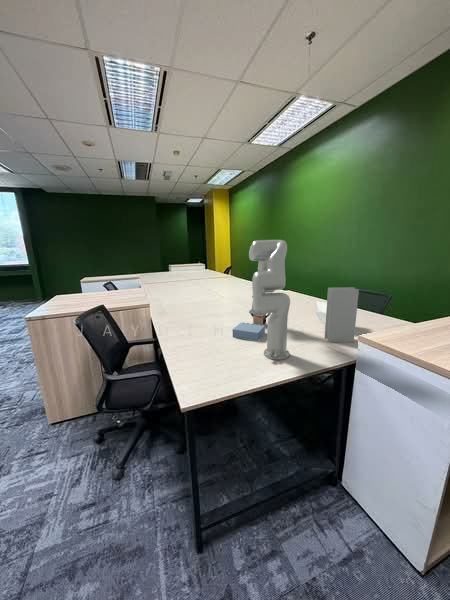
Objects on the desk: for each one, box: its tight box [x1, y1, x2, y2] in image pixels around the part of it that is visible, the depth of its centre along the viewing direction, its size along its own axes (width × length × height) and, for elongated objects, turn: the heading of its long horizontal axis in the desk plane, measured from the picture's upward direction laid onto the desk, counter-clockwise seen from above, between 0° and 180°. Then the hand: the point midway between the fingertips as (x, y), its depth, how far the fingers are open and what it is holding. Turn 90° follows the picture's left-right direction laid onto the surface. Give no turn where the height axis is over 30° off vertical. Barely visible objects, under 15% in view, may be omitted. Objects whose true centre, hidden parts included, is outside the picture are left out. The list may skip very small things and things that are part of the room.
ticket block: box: [232, 322, 266, 342], centre depth 148 cm, size 15×16×5 cm
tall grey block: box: [323, 287, 360, 343], centre depth 135 cm, size 14×6×30 cm, turn 84°
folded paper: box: [314, 300, 327, 325], centre depth 160 cm, size 17×24×17 cm
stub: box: [252, 315, 264, 325], centre depth 166 cm, size 9×6×6 cm, turn 154°
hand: (259, 323), depth 167 cm, fingers closed on stub, 6 cm apart
